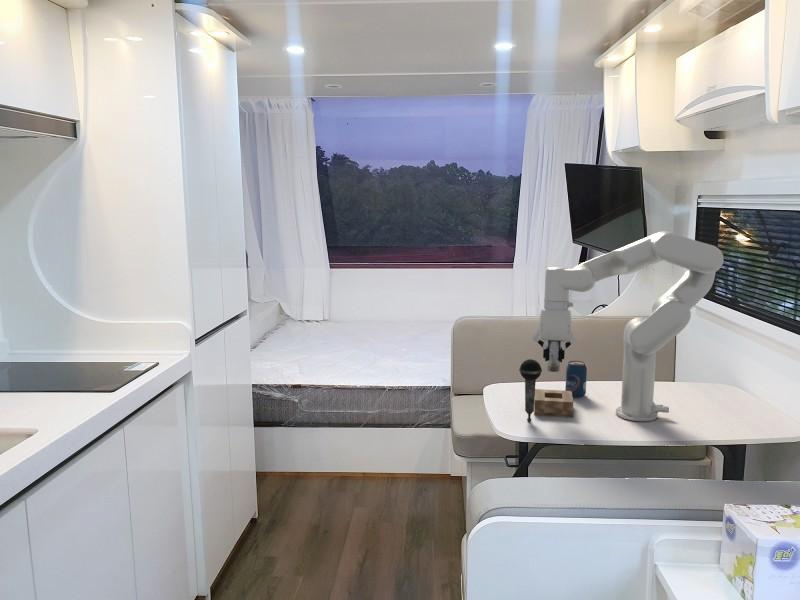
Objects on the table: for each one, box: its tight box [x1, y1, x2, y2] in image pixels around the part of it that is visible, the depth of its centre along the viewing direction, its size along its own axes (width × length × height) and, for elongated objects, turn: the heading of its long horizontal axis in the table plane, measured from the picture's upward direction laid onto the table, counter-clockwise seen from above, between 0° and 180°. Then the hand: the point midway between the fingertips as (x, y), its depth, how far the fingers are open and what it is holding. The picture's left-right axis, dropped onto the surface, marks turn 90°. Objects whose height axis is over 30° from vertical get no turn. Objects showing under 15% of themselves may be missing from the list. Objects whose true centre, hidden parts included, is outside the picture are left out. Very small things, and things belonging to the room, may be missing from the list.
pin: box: [546, 340, 561, 373], centre depth 206 cm, size 4×4×10 cm
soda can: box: [564, 360, 588, 399], centre depth 223 cm, size 7×7×12 cm
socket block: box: [533, 388, 574, 418], centre depth 209 cm, size 12×12×5 cm
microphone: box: [518, 358, 543, 423], centre depth 197 cm, size 7×7×20 cm
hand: (553, 360), depth 206 cm, fingers closed on pin, 4 cm apart
